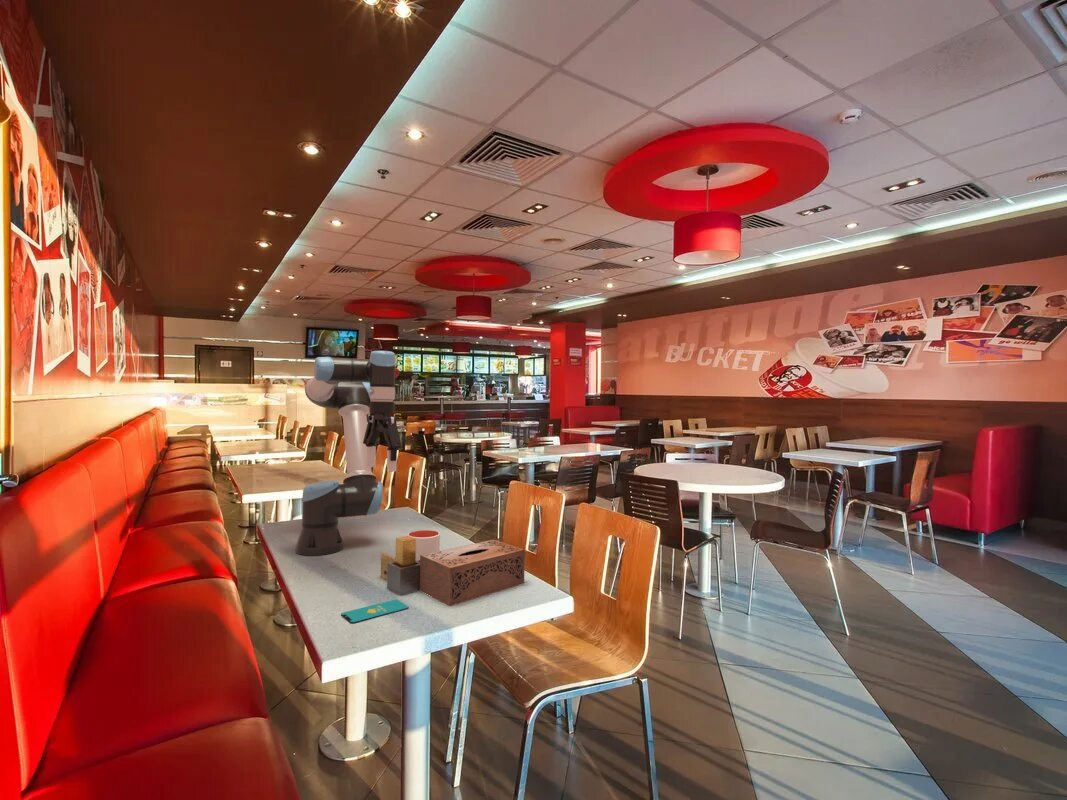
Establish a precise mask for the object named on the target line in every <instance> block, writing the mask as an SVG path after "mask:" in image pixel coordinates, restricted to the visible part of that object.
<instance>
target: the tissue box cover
mask: <svg viewBox="0 0 1067 800" xmlns="http://www.w3.org/2000/svg"><path fill="white" fill-rule="evenodd" d="M525 552H526V551H525V549H524V548H521V547H518V546H514V545H511V544H508V543H505V542H502V541H500V540H496V539H489V540H485V541H481V542H476V543H472V544H466V545H462V546H457V547H452V548H448V549H443V550H440V551H438V552H433V553H428V554H424V555H420V590H419V591H420V592H421V593H423V592H424V593H423V594H425V593H426V594H425V595H427V594H428V595H427V596H429V595H430V596H429V597H431V596H432V597H431V598H433V599H434V600H438V601H439V602H441V603H443V604H445V605H447V606H449V607H451V606H454V605H457V604H460V603H465V602H467V601H470V600H474V599H478V598H481V597H484V596H487V595H490V594H493V593H497V592H500V591H504V590H507V589H510V588H514V587H517V586H520V585H524V584H525V560H526V559H525V555H526V554H525Z"/></svg>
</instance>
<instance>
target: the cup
mask: <svg viewBox="0 0 1067 800" xmlns="http://www.w3.org/2000/svg"><path fill="white" fill-rule="evenodd" d="M407 536H411V537H413V538H416V561H417V560H420V555H424V554H428V553H433V552H438V551H441V550H440V546H441V534H440V532H439V531H438V530H432V529H431V530H429V529H423V530H422V529H420V530H414V531H410V532H409V533H407Z"/></svg>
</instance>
